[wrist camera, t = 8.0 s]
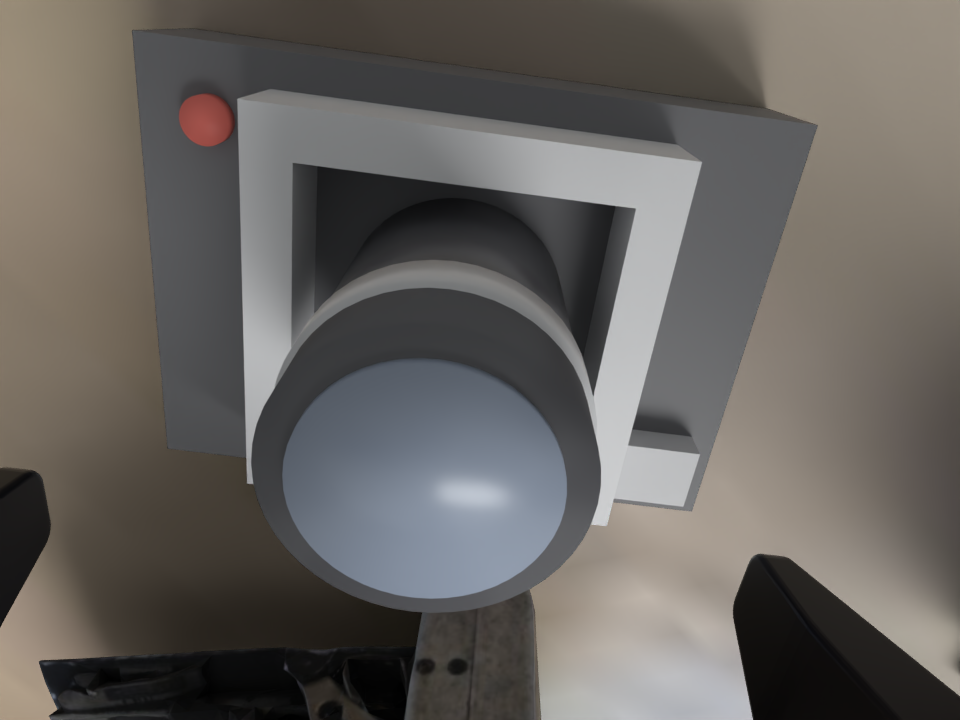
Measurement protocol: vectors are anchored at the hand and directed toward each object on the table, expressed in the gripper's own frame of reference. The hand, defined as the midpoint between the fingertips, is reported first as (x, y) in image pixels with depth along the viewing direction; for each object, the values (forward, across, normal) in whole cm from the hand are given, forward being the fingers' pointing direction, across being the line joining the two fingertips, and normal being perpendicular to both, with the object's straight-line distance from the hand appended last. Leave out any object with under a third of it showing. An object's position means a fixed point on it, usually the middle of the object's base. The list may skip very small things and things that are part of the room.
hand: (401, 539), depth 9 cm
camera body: (+11, 0, 0) cm, 11 cm away
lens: (+8, 0, 0) cm, 8 cm away
